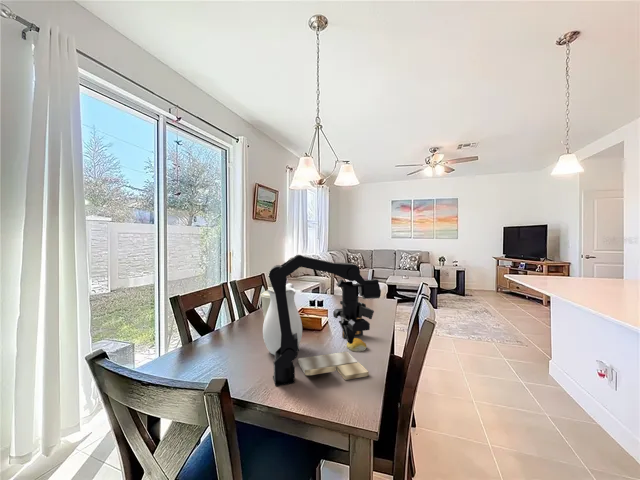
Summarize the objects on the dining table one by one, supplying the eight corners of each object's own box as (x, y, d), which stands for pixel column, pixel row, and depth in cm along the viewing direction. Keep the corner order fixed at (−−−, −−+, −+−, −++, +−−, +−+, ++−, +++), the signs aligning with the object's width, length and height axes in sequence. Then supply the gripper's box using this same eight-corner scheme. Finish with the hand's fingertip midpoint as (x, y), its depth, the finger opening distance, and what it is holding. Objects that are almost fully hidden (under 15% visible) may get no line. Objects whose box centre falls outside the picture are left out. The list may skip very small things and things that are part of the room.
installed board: (304, 374, 102) (304, 369, 102) (298, 362, 112) (298, 358, 112) (357, 365, 109) (357, 361, 109) (347, 355, 118) (347, 351, 118)
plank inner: (310, 375, 94) (310, 370, 95) (305, 375, 101) (304, 370, 102) (336, 371, 97) (335, 366, 98) (329, 371, 104) (328, 366, 105)
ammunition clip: (361, 334, 143) (361, 310, 142) (363, 335, 141) (363, 311, 141) (342, 337, 139) (341, 313, 138) (343, 338, 137) (343, 314, 137)
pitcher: (296, 361, 113) (295, 291, 113) (256, 357, 116) (255, 289, 116) (310, 339, 137) (309, 281, 136) (276, 337, 140) (276, 280, 139)
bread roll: (361, 343, 131) (361, 335, 131) (368, 351, 123) (368, 342, 123) (344, 345, 129) (344, 336, 129) (350, 353, 121) (350, 343, 121)
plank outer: (345, 380, 97) (345, 375, 97) (336, 370, 105) (336, 365, 105) (368, 375, 100) (368, 371, 100) (358, 366, 108) (358, 362, 108)
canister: (253, 323, 162) (253, 286, 161) (276, 316, 176) (276, 282, 176) (276, 329, 151) (275, 290, 150) (298, 321, 165) (298, 285, 165)
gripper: (384, 303, 94) (384, 350, 94) (359, 292, 112) (359, 332, 112) (353, 306, 90) (353, 354, 91) (332, 294, 108) (332, 335, 109)
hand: (350, 343), depth 101 cm, fingers closed
